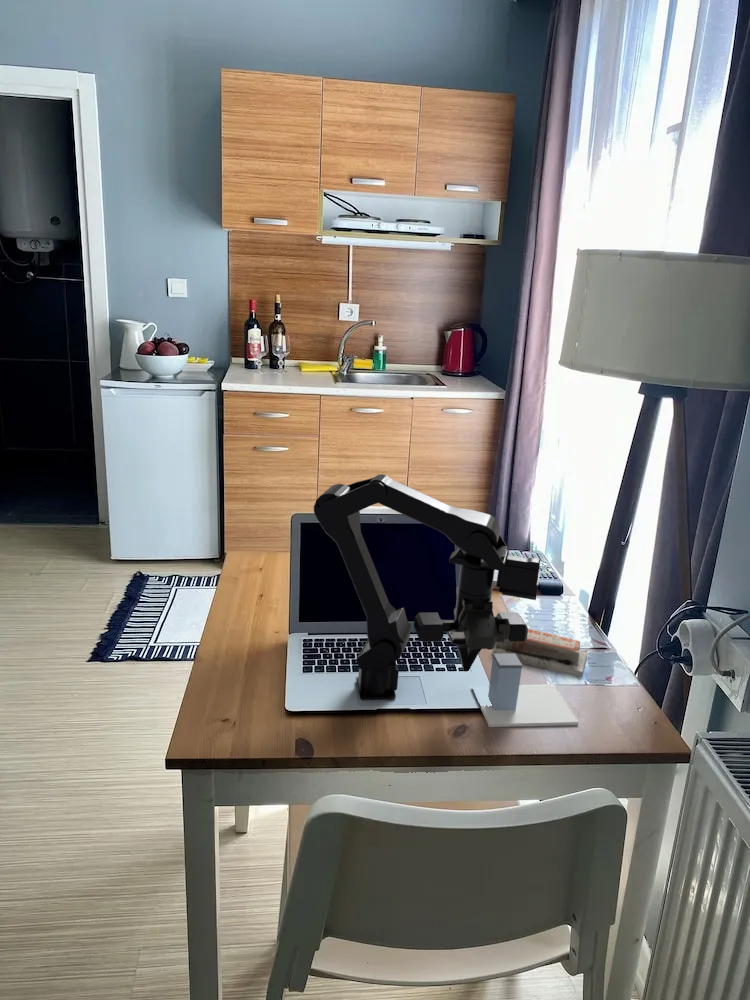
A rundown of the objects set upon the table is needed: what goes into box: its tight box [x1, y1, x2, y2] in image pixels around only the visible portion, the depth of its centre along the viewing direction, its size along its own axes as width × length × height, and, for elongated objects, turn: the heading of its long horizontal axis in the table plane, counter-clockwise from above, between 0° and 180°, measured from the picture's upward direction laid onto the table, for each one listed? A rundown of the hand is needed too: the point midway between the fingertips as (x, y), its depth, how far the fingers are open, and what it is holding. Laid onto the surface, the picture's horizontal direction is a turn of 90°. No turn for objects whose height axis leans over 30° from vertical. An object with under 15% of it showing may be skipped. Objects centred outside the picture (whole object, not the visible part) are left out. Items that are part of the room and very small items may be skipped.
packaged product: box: [491, 627, 588, 678], centre depth 155 cm, size 18×5×10 cm
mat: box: [480, 683, 579, 728], centre depth 137 cm, size 16×12×1 cm
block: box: [488, 653, 523, 710], centre depth 135 cm, size 4×4×9 cm
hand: (465, 670), depth 133 cm, fingers closed
